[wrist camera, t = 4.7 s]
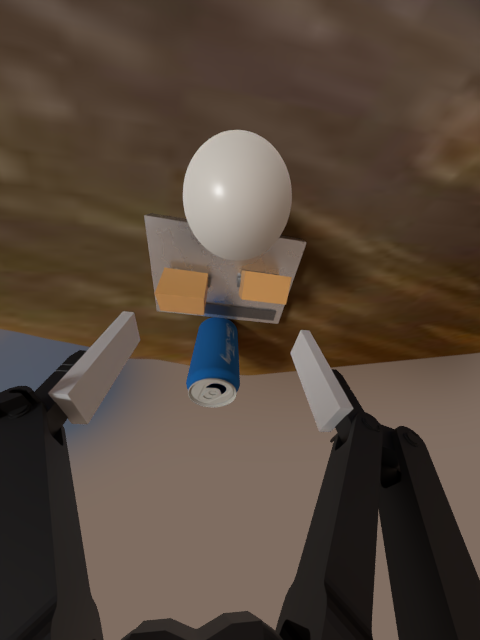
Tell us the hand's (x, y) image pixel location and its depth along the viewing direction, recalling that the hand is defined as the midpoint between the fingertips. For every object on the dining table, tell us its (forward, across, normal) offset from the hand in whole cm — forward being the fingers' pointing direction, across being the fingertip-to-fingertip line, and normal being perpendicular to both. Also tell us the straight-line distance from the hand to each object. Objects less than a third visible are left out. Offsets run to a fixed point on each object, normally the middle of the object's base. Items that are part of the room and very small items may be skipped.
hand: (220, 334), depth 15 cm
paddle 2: (+11, +4, 0) cm, 12 cm away
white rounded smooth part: (+13, 0, +9) cm, 16 cm away
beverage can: (+13, 0, -10) cm, 16 cm away
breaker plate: (+13, 0, 0) cm, 13 cm away
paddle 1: (+11, -5, 0) cm, 12 cm away
